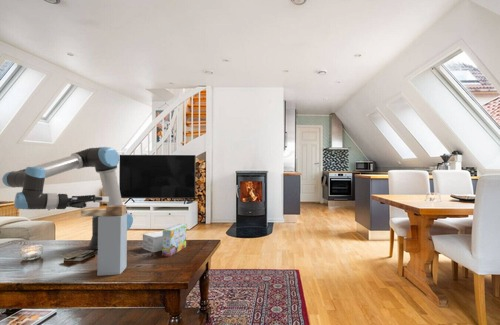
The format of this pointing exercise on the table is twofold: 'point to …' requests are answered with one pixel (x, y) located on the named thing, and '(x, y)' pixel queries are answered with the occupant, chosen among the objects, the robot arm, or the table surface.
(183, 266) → the table surface
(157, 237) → the supplement box
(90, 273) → the table surface
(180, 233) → the snack box
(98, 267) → the slate column
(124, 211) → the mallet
